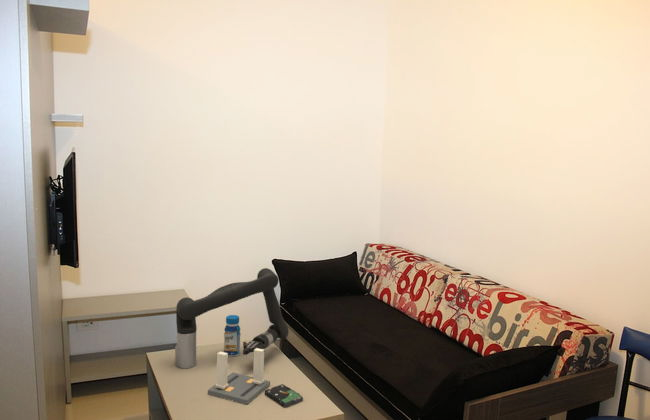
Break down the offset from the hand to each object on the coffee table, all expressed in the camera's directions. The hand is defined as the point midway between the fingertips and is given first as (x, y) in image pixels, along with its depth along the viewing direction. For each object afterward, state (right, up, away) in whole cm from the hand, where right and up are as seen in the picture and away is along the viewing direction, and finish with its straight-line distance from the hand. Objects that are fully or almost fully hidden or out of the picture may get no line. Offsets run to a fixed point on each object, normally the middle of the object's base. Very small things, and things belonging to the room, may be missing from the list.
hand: (244, 352), depth 250 cm
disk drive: (+20, -15, -19) cm, 31 cm away
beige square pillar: (-8, -11, -16) cm, 21 cm away
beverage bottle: (-11, -8, +25) cm, 29 cm away
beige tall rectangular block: (+8, -11, -11) cm, 17 cm away
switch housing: (0, -13, -13) cm, 19 cm away
